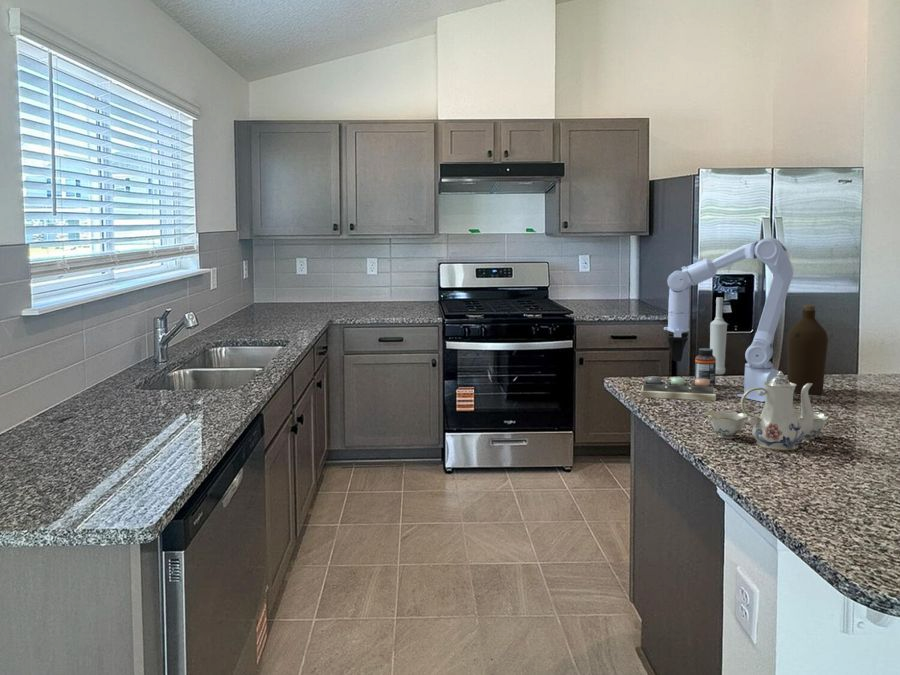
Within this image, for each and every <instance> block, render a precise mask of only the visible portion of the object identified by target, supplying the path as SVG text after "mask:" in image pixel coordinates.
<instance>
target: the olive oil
mask: <svg viewBox="0 0 900 675" xmlns="http://www.w3.org/2000/svg"><path fill="white" fill-rule="evenodd" d="M801 316H802V317H801V319H800V320H799V321H798V322H797V323H796V324H795V325H793V327H791V329H790V330H789V331H788V335H787V338H786V340H787V341H786V344H787V345H786V346H787V348H786V349H787V352H786V353H787V354H786V355H787V358H786V360H787V366H786V367H787V374H786V376H787V377H786V378H787V379H788V380H789V382H790V383H794V384H796V386H795V390H794V394H797V395H801V390H802V388H803V386H804V385H806V384H807V383H812V385H811V387H810V388H809V390H808V395H809V396H810V395H811V396H813V395H821V394H824V383H825V382H824V380H825V371H826V370H825V369H826V362H827V354H828V353H827V352H828V345H829V344H828V343H829V336H828V334H827V331H826V330H825V328H824V327H823V326H822V325H821V324H820V323H819V322H818V321H817V320H816V305H815V304H804V305H802V312H801Z"/></svg>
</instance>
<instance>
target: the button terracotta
mask: <svg viewBox="0 0 900 675" xmlns="http://www.w3.org/2000/svg"><path fill="white" fill-rule="evenodd" d="M694 383H695V386H701V387H710V379H705V378H696V379H695V378H694Z"/></svg>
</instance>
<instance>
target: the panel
mask: <svg viewBox="0 0 900 675" xmlns="http://www.w3.org/2000/svg"><path fill="white" fill-rule="evenodd" d="M689 383H690V382H685V386H679V385H671V381H667V384H666V381H662V385H657V384H647V380H643V385H642V386H641V389H640V398H651V399H652V398H653V399H673V400H676V399H677V400H689V401H690V400H695V401H712V402H713V401H714V402H716V400H717V396H716V389H715V388H714V387H713V384H710V387H701V386H695V382H691V384H690V385H689Z"/></svg>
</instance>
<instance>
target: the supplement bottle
mask: <svg viewBox="0 0 900 675" xmlns="http://www.w3.org/2000/svg"><path fill="white" fill-rule="evenodd" d="M715 373H716V358H715V357H714V356H713V349H710V347H709V348H708V347H704V348H703V347H702V348H699V349H698V355H696V356H695V358H694V380H695V379H696V378H705V379H710V384H713V388H714V387H715V386H716V374H715Z"/></svg>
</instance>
